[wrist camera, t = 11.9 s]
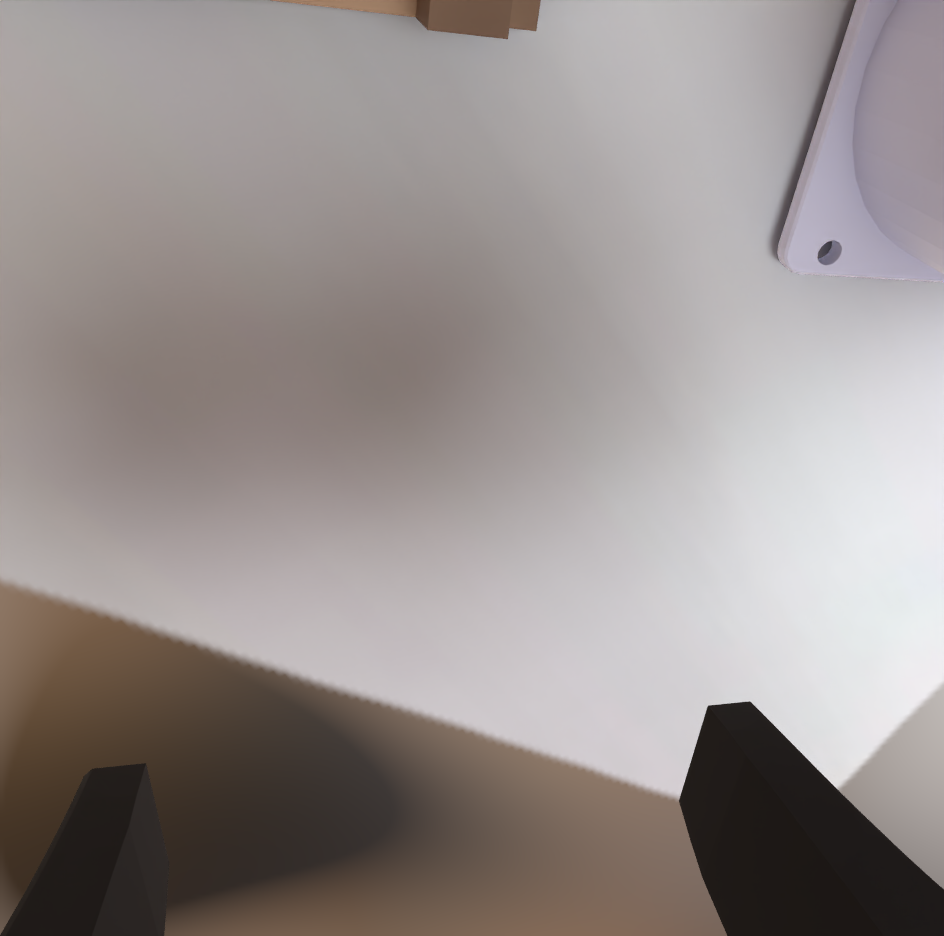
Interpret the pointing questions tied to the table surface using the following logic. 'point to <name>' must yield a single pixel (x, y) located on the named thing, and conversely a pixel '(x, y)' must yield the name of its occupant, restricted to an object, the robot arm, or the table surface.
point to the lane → (451, 13)
